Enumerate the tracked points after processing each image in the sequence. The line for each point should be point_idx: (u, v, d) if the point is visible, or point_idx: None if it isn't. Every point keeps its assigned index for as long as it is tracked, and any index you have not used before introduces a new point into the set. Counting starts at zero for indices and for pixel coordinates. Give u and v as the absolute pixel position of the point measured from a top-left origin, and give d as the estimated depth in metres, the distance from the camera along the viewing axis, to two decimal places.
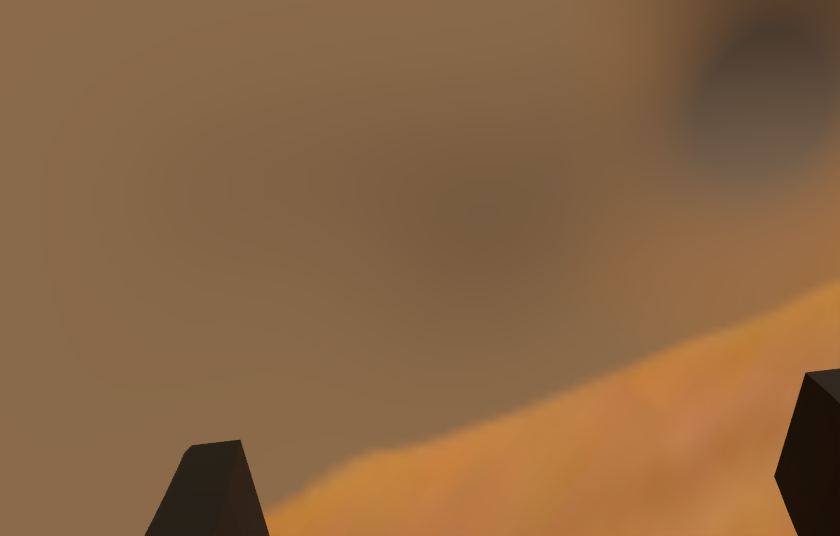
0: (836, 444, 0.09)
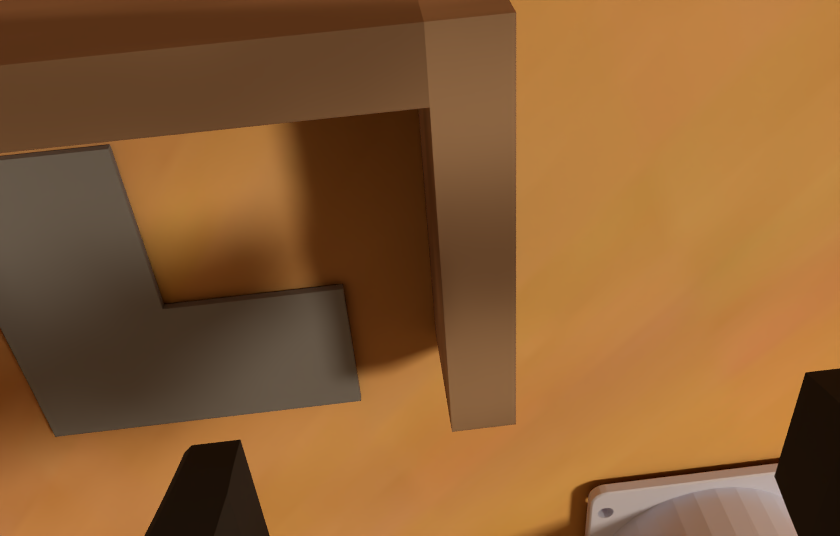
0: (836, 444, 0.09)
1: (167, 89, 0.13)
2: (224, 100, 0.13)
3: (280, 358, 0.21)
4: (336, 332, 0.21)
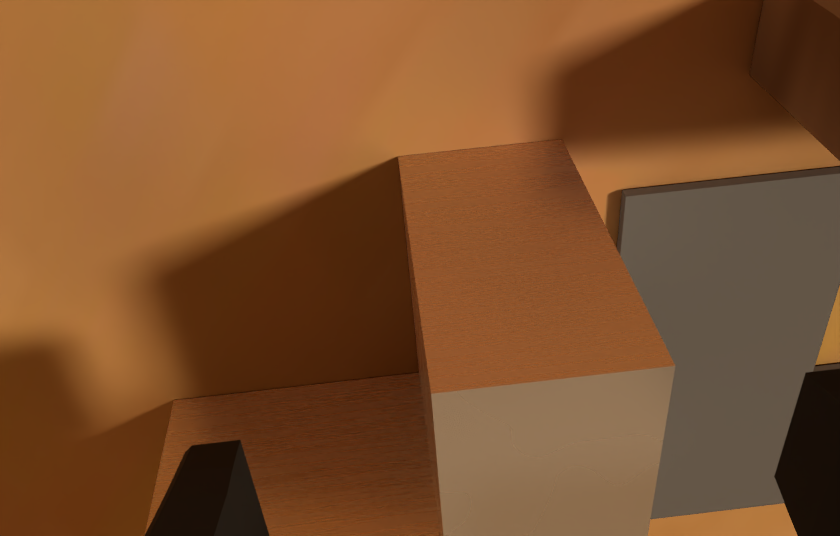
0: (836, 444, 0.09)
1: None
2: None
3: None
4: None
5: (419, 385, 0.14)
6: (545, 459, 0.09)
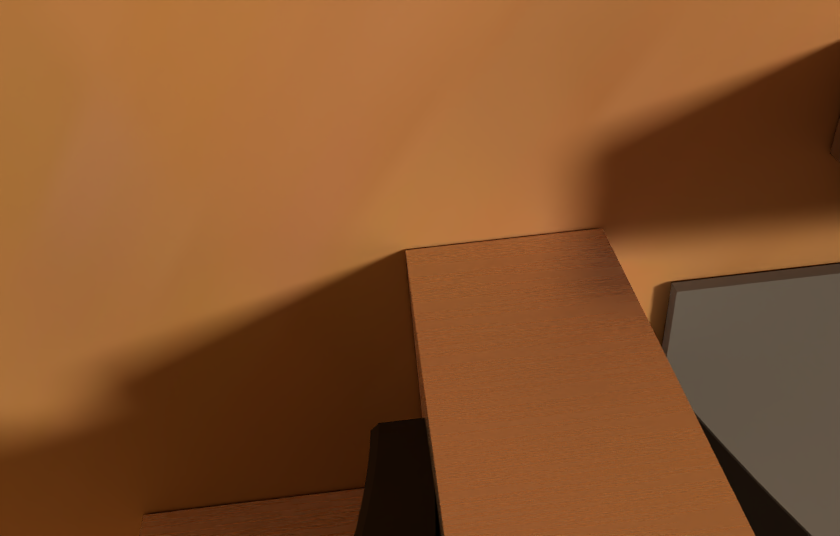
0: None
1: None
2: None
3: None
4: None
5: None
6: None
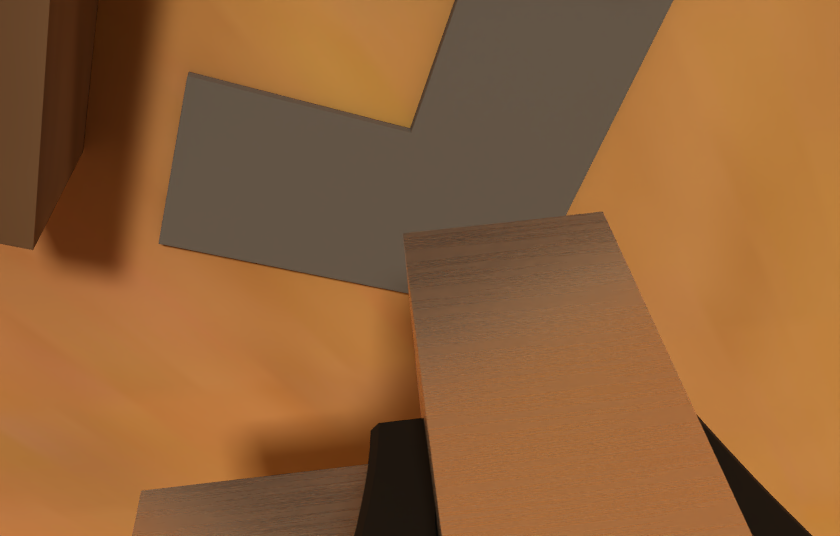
0: None
1: None
2: None
3: (552, 43, 0.16)
4: None
5: None
6: None
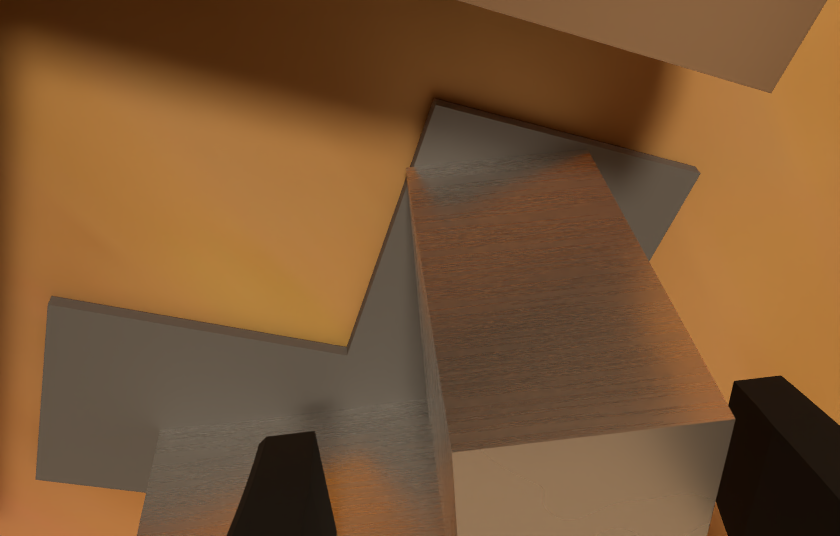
0: (760, 454, 0.09)
1: None
2: None
3: None
4: (524, 152, 0.11)
5: (427, 413, 0.13)
6: (580, 522, 0.08)
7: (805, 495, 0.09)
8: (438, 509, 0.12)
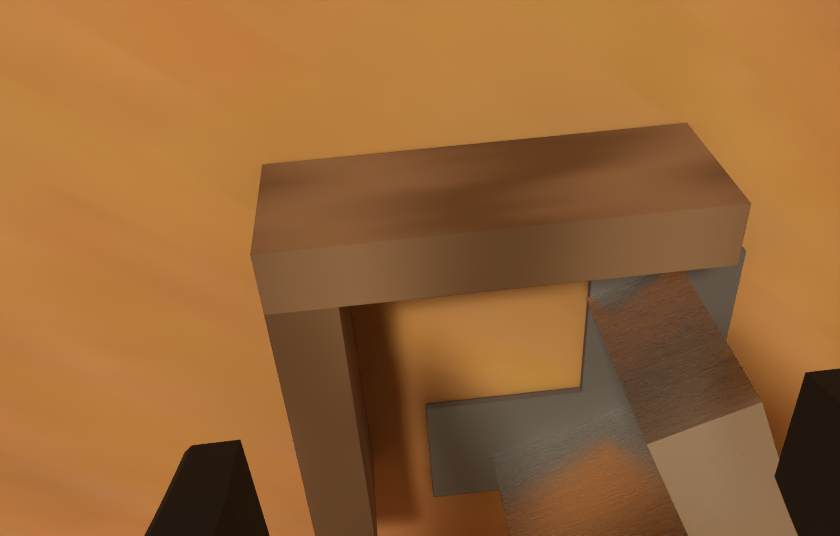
0: (836, 444, 0.09)
1: (326, 451, 0.19)
2: (333, 425, 0.18)
3: None
4: None
5: None
6: (713, 457, 0.18)
7: None
8: None
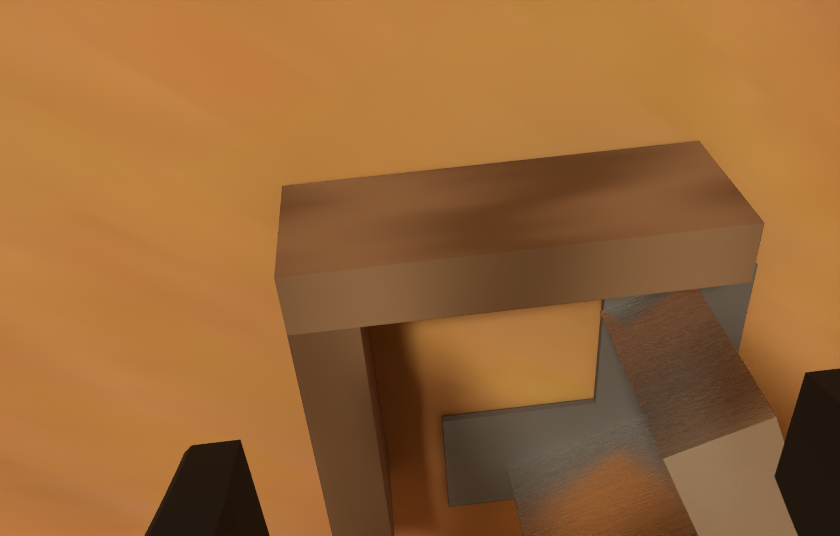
0: (836, 444, 0.09)
1: (346, 467, 0.19)
2: (354, 441, 0.19)
3: None
4: None
5: None
6: (728, 471, 0.18)
7: None
8: (670, 473, 0.22)
